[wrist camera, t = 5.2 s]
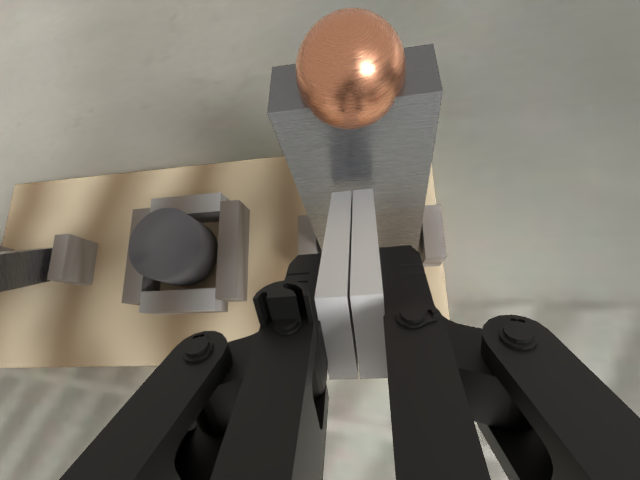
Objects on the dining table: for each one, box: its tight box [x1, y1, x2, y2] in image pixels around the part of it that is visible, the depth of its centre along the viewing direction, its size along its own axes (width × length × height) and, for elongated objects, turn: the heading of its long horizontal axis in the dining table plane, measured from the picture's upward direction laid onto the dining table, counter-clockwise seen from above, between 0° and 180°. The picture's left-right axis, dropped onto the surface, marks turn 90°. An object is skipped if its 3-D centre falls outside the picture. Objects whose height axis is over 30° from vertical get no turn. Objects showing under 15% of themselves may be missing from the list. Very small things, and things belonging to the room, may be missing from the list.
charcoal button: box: [129, 208, 218, 286], centre depth 21 cm, size 4×4×3 cm
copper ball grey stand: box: [268, 8, 442, 251], centre depth 15 cm, size 5×3×14 cm, turn 92°
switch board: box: [0, 156, 450, 368], centre depth 23 cm, size 30×13×4 cm, turn 92°
